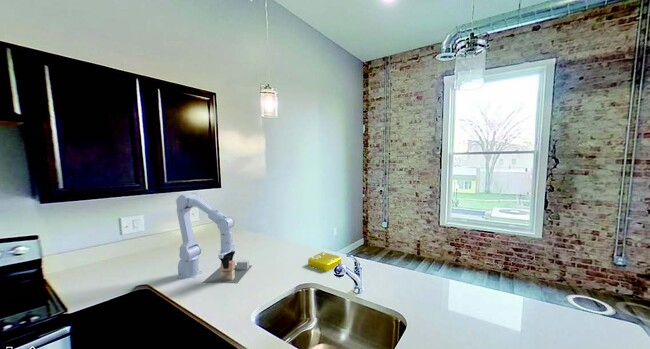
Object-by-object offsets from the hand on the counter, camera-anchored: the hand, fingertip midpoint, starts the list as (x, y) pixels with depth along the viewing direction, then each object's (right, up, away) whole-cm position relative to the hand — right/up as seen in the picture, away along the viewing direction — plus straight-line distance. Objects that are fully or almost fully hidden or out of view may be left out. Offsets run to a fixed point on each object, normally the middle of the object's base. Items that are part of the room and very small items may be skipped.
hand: (227, 267), depth 133 cm
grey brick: (+4, -5, +13) cm, 15 cm away
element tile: (+50, -6, +18) cm, 54 cm away
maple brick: (0, -6, 0) cm, 6 cm away
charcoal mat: (-2, -6, +6) cm, 9 cm away
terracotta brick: (0, -1, 0) cm, 1 cm away
